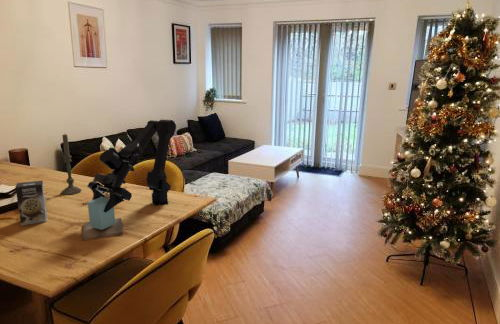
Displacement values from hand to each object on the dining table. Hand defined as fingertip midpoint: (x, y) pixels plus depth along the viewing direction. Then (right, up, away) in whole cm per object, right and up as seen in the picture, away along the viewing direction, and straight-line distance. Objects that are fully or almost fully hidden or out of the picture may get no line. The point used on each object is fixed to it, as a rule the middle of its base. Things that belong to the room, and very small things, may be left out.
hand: (98, 210), depth 133 cm
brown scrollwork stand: (-14, +1, +37) cm, 40 cm away
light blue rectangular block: (+1, -6, +3) cm, 7 cm away
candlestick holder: (-33, +3, +44) cm, 55 cm away
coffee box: (-30, -6, +10) cm, 33 cm away
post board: (0, -8, +3) cm, 9 cm away
